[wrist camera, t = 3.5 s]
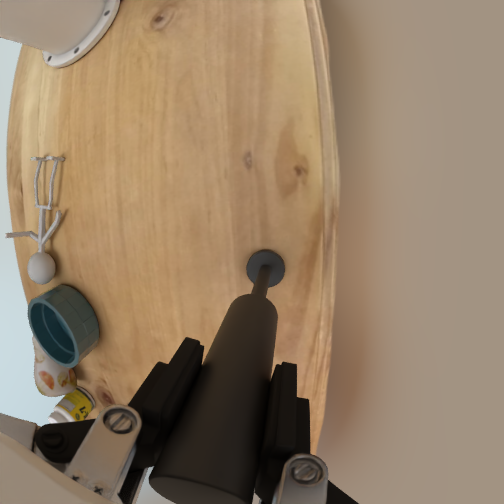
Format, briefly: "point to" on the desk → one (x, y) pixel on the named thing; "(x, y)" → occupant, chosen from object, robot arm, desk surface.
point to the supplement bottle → (73, 407)
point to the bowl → (63, 325)
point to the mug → (52, 374)
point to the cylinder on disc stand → (226, 403)
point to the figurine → (42, 231)
